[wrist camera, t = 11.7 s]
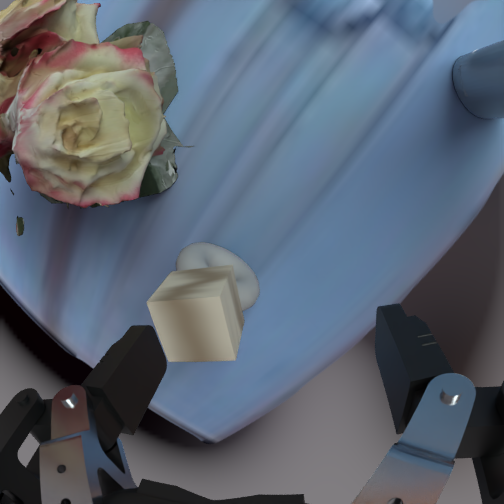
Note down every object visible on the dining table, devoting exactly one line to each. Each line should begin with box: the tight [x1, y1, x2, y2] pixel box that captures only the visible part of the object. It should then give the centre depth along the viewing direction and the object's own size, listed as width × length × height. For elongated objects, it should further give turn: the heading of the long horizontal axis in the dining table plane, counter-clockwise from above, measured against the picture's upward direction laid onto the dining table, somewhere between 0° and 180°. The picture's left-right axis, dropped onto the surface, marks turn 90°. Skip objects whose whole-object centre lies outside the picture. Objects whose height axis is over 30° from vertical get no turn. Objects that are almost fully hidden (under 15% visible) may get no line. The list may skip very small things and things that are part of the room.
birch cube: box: [147, 265, 244, 362], centre depth 25 cm, size 6×6×6 cm
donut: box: [176, 242, 260, 311], centre depth 33 cm, size 10×4×10 cm, turn 59°
